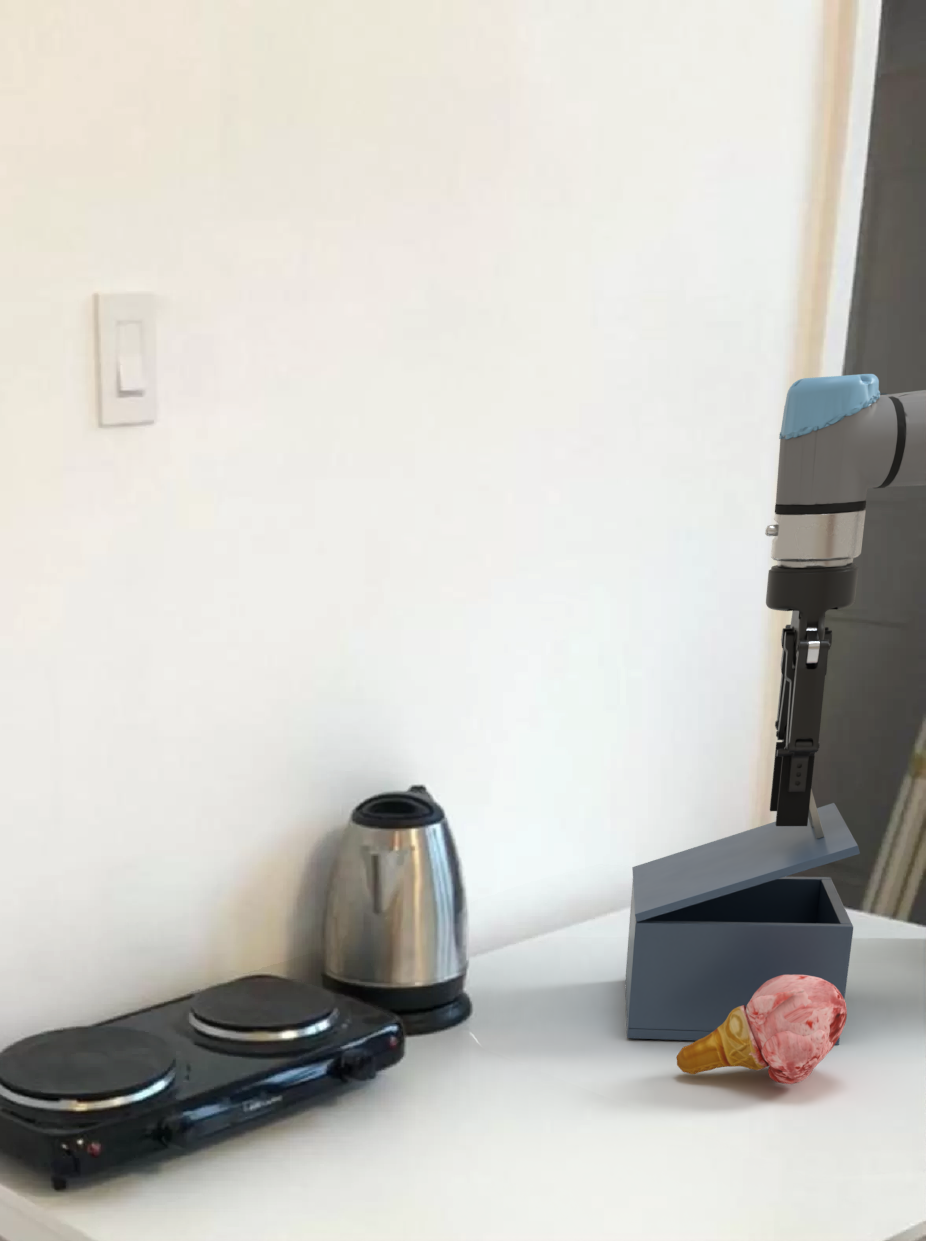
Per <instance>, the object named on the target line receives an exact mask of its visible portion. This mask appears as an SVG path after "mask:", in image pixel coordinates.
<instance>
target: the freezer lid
mask: <svg viewBox="0 0 926 1241" xmlns="http://www.w3.org/2000/svg"><path fill="white" fill-rule="evenodd" d="M860 854H861V852H860V848H859V845H858V843H857V841H856V840H855V838H854V836H853V835H852V832H851V831H850V829H849V826H848V825H847V823H846V821H845V820H844V818H843V816H842V814H841V813H840V811H839V809H838V807H837V805H836V804H835V802H832V803H829V804H825V805H823V806H820V807H819V806H818V807H817V804H816V800H815V797H814V793H813V789H812V788H811V796H810V805H809V815H808V824H807V826H776V821H773V822H770V823H767V824H764V825H763V824H762V825H761V826H757V827H754V828H750V829H747V830H744V831H741V832H737V833H735V834H732V835H729V836H725V837H722V838H719V839H716V840H713V841H710V842H707V843H704V844H700V845H698V846H693V847H691V848H688V849H685V850H682V851H678V852H675V853H673V854H669V855H666V856H663V857H659V858H656V859H653V860H651V861H647V862H644V863H641V864H637V865H634V866H632V868H631V869H632V882H633V889H634V907H635V917H636V920H637V922H639V921H642V920H645V919H649V918H652V917H655V916H658V915H662V914H665V913H668V912H671V911H675V910H678V909H681V908H685V907H688V906H691V905H694V904H698V903H701V902H704V901H707V900H711V899H714V898H717V897H720V896H724V895H727V894H730V893H733V892H737V891H740V890H743V889H746V888H750V887H753V886H756V885H759V884H763V883H766V882H769V881H772V880H776V879H779V878H782V877H790V876H792V875H796V874H798V873H801V872H805V871H807V870H808V871H809V870H811V869H814V868H819V867H822V866H824V865H827V864H831V863H834V862H838V861H841V860H844V859H847V858H850V857H853V856H857V855H860Z"/></svg>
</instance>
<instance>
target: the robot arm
mask: <svg viewBox="0 0 926 1241" xmlns="http://www.w3.org/2000/svg"><path fill="white" fill-rule="evenodd" d="M879 386H880V380H879V377H878V376H877V375H876V374H874V373H860V374H847V375H834V376H833V375H832V376H816V377H803V378H800V379H797V380H796V381H794V382H793V383H792V384H791V386H789V389H788V390H787V393H786V397H785V398H786V399H785V403H784V407H783V414H782V420H781V428H780V432H779V437H778V439H779V452H778V466H777V480H776V482H777V483H776V493H775V494H776V495H775V497H776V498H775V506H774V516H773V520H774V521H775V522H776V523H775V524H770V525H767V526H766V528H765V532H764V534H765V535H766V537H773V539H772V540H771V549H770V558H771V559H772V560H773V561H777V562H776V565H773V566H770V568H771V569H768V572H767V573H768V575H767V583H766V595H765V605H766V607H767V608H768V609H770V610H774V611H780V612H781V611H782V612H792V613H791V619H790V624H786V625H785V627H782V630H781V636H780V637H781V639H780V643H781V648H782V651H781V661H780V673H781V676H780V684H779V694H778V704H777V713H776V720H775V722H774V727H775V730H776V732H775V737H776V740H777V741H776V742H775V750H774V762H773V770H772V771H773V773H772V781H771V782H772V783H771V793H770V801H769V802H770V803H769V812H776V815H775V816H776V817H775V822H776V826H807V824H808V815H809V805H810V796H811V789H812V787H813V786H812V785H813V775H814V766H815V757H816V756H815V754H816V753H818V752H819V749H820V745H821V744H820V743H821V742H820V732H821V722H822V713H823V712H822V711H823V701H824V691H825V683H826V682H825V681H826V680H825V679H826V676H827V671H828V669H827V668H828V658H829V650H831V647H832V640H833V630H832V629H830V627H829V626H826V613H827V612H828V611H829V610H836V611H837V610H843V609H847V608H849V607H851V606H853V605H854V603H855V601H856V596H857V585H858V577H859V569H860V568H859V566H857V564H856V563H854V559H855V558H858V557H859V556H860V555H861V554H862V548H863V547H862V546H863V539H864V538H863V537H864V530H865V522H866V513H867V512H866V511H867V510H866V506H867V495H868V490H869V489H885V488H892V487H917V486H918V487H919V486H920V487H921V486H926V389H923V390H913V391H906V392H897V393H886V392H885V393H884V392H883V393H882V392H881V391H880V387H879Z"/></svg>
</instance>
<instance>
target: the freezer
mask: <svg viewBox="0 0 926 1241" xmlns="http://www.w3.org/2000/svg"><path fill="white" fill-rule="evenodd" d="M837 890H838V889H837V888H836V886H835V884H834V882H833V880H832V877H831V876H786V877H782V878H779V879H776V880H772V881H769V882H766V883H763V884H759V885H756V886H753V887H750V888H746V889H743V890H740V891H737V892H733V893H730V894H727V895H724V896H720V897H717V898H714V899H711V900H707V901H704V902H701V903H698V904H694V905H691V906H688V907H685V908H681V909H678V910H675V911H671V912H668V913H665V914H662V915H658V916H655V917H652V918H649V919H645V920H642V921H639V922H637V920H636V917H635V907H634V889H633V881H632V884H631V896H630V909H629V910H630V911H629V912H630V913H629V923H628V924H629V925H628V937H627V938H628V940H627V952H626V965H625V966H626V967H625V977H624V984H625V985H626V986H625V987H626V988H625V1016H626V1017H625V1018H626V1038H627V1039H640V1040H641V1039H643V1040H671V1041H672V1040H674V1041H697V1040H699V1039H701V1038H704V1037H706V1036H707V1035H709V1034H710V1033H712V1032H713V1031H714V1030H716V1029H717V1028H718V1027H719V1026H720V1025H722V1024H723V1023H724V1021H725V1020H726V1019H727V1017H728V1015H729V1013H730V1012H731V1011H732V1010H733V1009H735V1008H737V1007H739V1006H742V1005H745V1006H746V1008H747V1004H748V1003H749V1001H750V999H751V998H752V996H753V995H754V993H755V992H756V991H757V990H758V989H759V988H760V987H761V986H762V985H763V984H764V983H765V982H766V981H768V980H770V979H772V978H775V977H777V976H781V975H808V976H814V977H819V978H822V979H824V980H826V981H828V982H830V983H832V984H833V985H834V986H835V987H836V988H837V989H838V990H839V991H840V993H841V995H842V996H843V998H844V1000H845V999H846V993H847V992H846V990H847V984H848V976H849V975H848V974H849V968H850V967H849V966H850V958H851V951H852V950H851V949H852V943H853V942H852V941H853V935H854V925H853V923H852V920H851V919H850V917H849V915H848V914H849V913H848V912H847V910H846V907H845V906H844V904H843V902H842V899H841V896H840V895H839V892H838V891H837ZM845 1001H846V1000H845ZM840 1040H841V1035H840V1036H839V1038H838V1040H837V1041H836V1043H835V1045H834V1046H839V1045H840Z"/></svg>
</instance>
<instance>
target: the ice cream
mask: <svg viewBox="0 0 926 1241" xmlns="http://www.w3.org/2000/svg"><path fill="white" fill-rule="evenodd" d="M847 1017H848V1010H847V1003H846V1000H844V998H843V996H842V995H841V993H840V991H839V990H838V989H837V988H836V987H835V986H834V985H833V984H832V983H830V982H828V981H826V980H824V979H822V978H819V977H814V976H808V975H781V976H777V977H775V978H772V979H770V980H768V981H766V982H765V983H764V984H763V985H762V986H761V987H760V988H759V989H758V990H757V991H756V992H755V993H754V995H753V996H752V998H751V999H750V1001H749V1003H748V1004H747V1008H746V1006H745V1005H742V1006H739V1007H737V1008H735V1009H733V1010H732V1011H731V1012H730V1013H729V1015H728V1017H727V1019H726V1020H725V1021H724V1023H723V1024H722V1025H720V1026H719V1027H718V1028H717V1029H716V1030H714V1031H713V1032H712V1033H710V1034H709V1035H707V1036H706V1037H704V1038H701V1039H699V1040H697V1041H696V1040H694V1042H692V1043H689V1044H688V1045H685V1046H683V1047H682V1048H681V1049H680V1050H679V1052H678V1053H677V1055H676V1066H677V1067H678V1068H679V1069H680V1070H681V1072H683V1073H686V1074H690V1075H696V1074H698V1073H702V1072H703V1073H704V1072H707V1071H712V1070H715V1069H719V1068H720V1069H721V1068H727V1067H729V1068H731V1067H732V1068H733V1067H735V1068H736V1067H742V1068H746V1069H749V1070H754V1071H761V1070H764V1069H765V1068H766V1069H767V1068H768V1070H767V1073H768V1077H769V1078H770V1079H771V1080H772V1081H774V1082H776V1083H779V1084H784V1085H785V1084H786V1085H792V1084H797V1083H800V1082H802V1081H805V1080H806V1079H807V1078H808V1077H809V1076H810V1075H811V1074H812V1072H813V1071H814V1069H815V1068H816V1067H817V1066H818V1065H819V1063H820V1062H822V1061H823V1060H824V1059H825V1058H826V1056H827V1055H828V1054H829V1053H830V1052H831V1051H832V1050H833V1048H834V1046H836V1045H835V1043H836V1041H837V1040H838V1038H839V1036H840V1037H841V1035H842V1033H843V1030H844V1028H845V1025H846V1021H847Z"/></svg>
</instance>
